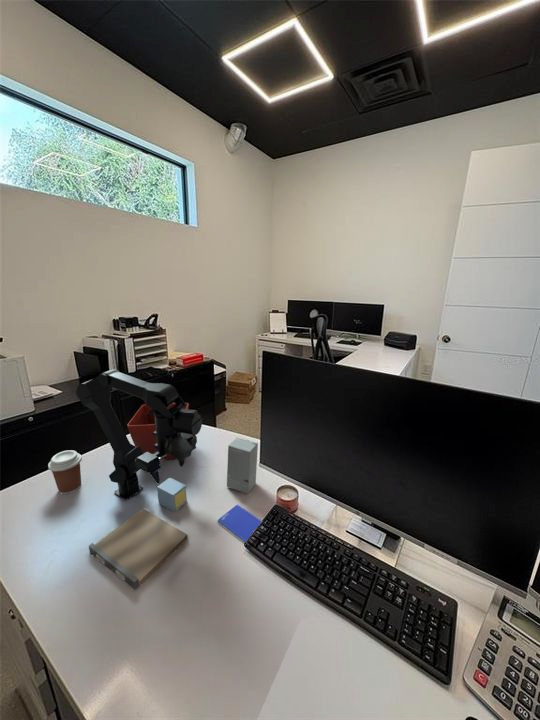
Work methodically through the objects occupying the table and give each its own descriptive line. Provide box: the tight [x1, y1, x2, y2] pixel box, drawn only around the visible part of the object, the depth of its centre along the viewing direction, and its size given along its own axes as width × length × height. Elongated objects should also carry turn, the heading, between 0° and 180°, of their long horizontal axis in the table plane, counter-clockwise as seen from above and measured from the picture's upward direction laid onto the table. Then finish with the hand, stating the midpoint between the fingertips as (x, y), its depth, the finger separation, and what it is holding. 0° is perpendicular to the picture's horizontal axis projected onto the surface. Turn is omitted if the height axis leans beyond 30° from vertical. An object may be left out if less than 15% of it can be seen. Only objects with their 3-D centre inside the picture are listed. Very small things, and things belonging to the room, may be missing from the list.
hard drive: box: [216, 504, 262, 544], centre depth 85 cm, size 2×8×12 cm
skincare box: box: [226, 437, 259, 494], centre depth 99 cm, size 8×7×16 cm
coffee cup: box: [47, 449, 83, 495], centre depth 97 cm, size 9×9×12 cm
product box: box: [156, 477, 188, 512], centre depth 92 cm, size 7×5×6 cm
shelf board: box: [88, 508, 189, 591], centre depth 77 cm, size 18×16×2 cm
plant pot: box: [127, 402, 190, 461], centre depth 118 cm, size 19×19×17 cm
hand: (170, 474), depth 90 cm, fingers open, 9 cm apart
